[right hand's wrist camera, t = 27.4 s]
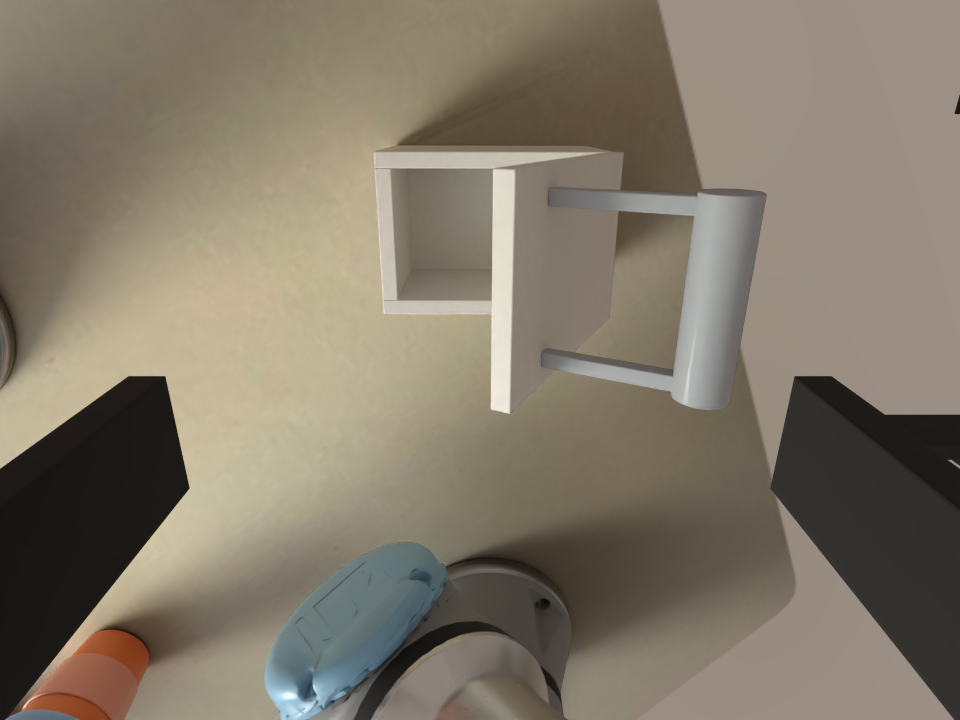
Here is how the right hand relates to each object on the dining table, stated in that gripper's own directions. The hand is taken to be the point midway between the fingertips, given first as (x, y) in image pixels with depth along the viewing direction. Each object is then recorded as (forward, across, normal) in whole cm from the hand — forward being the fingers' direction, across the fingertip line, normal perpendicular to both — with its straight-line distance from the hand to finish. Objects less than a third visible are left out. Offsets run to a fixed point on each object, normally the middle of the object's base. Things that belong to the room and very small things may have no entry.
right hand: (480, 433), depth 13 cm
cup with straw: (+32, +35, +42) cm, 63 cm away
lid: (+16, -4, 0) cm, 17 cm away
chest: (+32, -1, 0) cm, 32 cm away
